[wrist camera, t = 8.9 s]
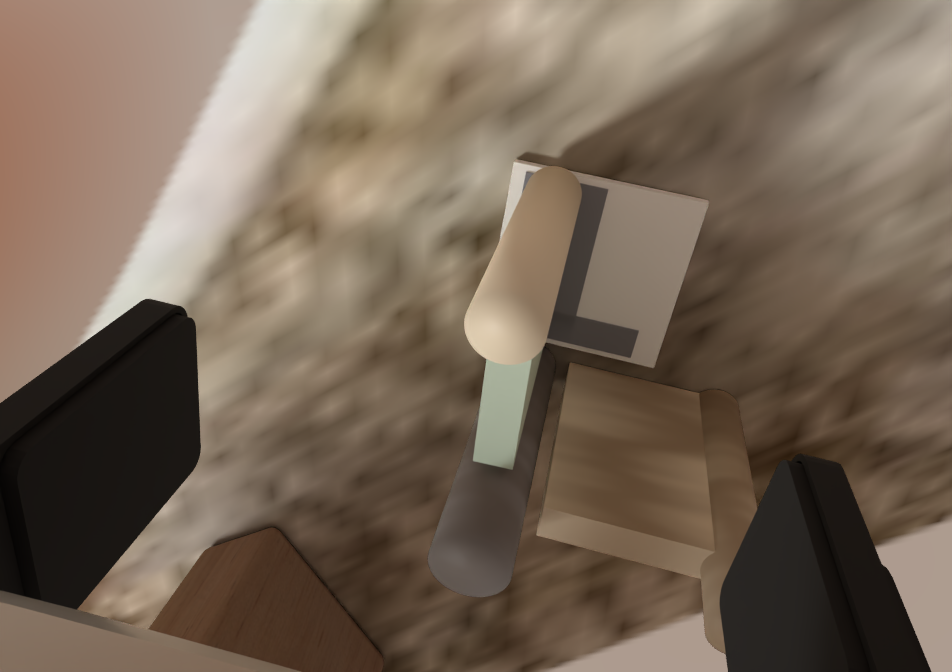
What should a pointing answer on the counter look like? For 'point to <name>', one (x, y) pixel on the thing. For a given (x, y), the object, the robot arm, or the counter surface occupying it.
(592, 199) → the card
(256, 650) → the wooden block
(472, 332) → the fence swing section
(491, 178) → the counter surface
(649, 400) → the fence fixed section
